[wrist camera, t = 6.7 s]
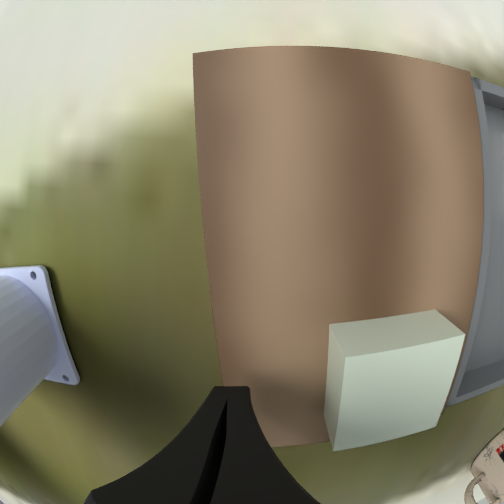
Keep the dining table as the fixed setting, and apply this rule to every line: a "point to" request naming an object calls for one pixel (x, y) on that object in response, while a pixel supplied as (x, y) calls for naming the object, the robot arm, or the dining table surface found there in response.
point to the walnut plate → (330, 209)
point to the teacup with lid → (489, 472)
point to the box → (487, 259)
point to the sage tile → (388, 376)
